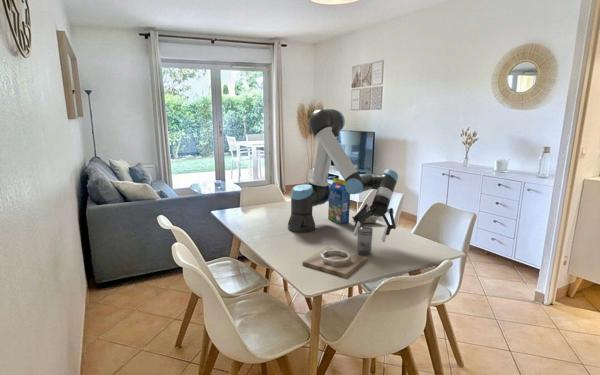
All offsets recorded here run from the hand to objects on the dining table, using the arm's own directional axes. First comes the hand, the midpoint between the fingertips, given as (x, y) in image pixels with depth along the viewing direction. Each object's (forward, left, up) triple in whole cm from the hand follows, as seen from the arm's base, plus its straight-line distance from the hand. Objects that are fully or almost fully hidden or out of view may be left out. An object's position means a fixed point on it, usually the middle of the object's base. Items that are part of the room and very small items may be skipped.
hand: (368, 237), depth 160 cm
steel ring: (-7, -18, -6) cm, 20 cm away
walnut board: (-7, -18, -7) cm, 21 cm away
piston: (-1, -1, -7) cm, 7 cm away
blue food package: (-34, +36, -7) cm, 50 cm away
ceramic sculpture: (-20, +42, -8) cm, 47 cm away
